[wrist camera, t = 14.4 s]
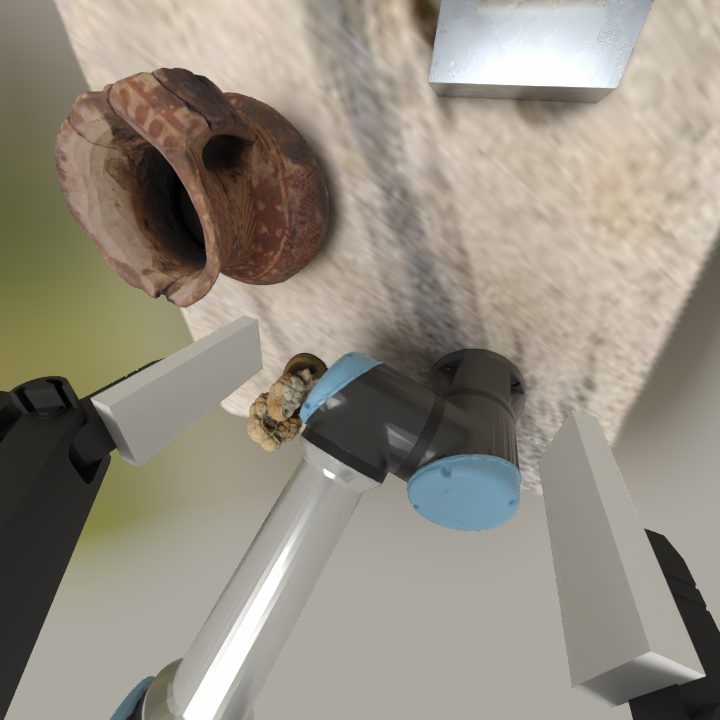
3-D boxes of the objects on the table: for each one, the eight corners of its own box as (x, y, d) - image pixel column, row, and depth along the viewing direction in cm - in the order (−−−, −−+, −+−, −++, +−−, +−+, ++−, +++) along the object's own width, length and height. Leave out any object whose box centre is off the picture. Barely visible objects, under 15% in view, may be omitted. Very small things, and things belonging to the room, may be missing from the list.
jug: (333, 287, 51) (227, 356, 31) (232, 249, 55) (81, 289, 35) (360, 127, 38) (211, 68, 18) (226, 92, 42) (-17, 13, 22)
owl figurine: (326, 424, 69) (283, 484, 56) (283, 403, 72) (232, 456, 58) (339, 365, 59) (290, 420, 45) (288, 342, 61) (227, 389, 48)
